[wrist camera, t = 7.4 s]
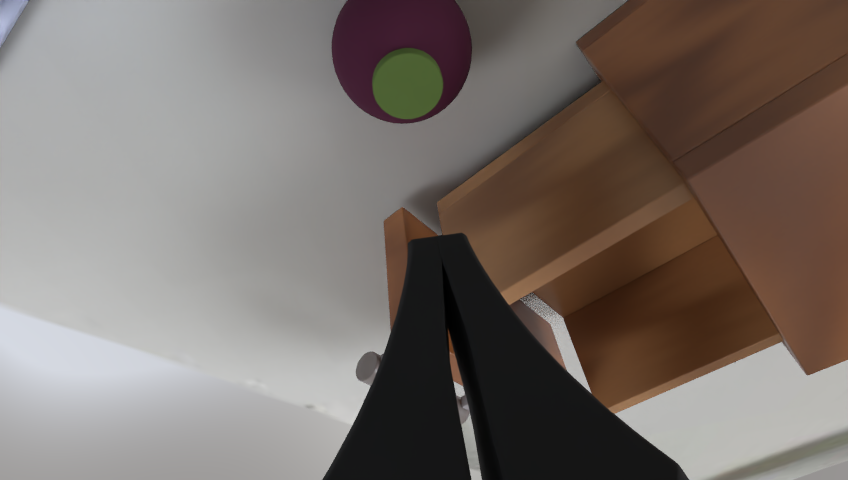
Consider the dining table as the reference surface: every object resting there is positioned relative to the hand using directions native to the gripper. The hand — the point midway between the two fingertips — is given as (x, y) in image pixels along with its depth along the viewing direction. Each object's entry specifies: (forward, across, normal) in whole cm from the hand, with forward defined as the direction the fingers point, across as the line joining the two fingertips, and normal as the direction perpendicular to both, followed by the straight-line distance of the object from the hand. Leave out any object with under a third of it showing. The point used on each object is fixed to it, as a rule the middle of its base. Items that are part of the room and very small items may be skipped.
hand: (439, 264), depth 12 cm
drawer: (+8, -5, +9) cm, 13 cm away
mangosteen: (+9, 0, -2) cm, 10 cm away
